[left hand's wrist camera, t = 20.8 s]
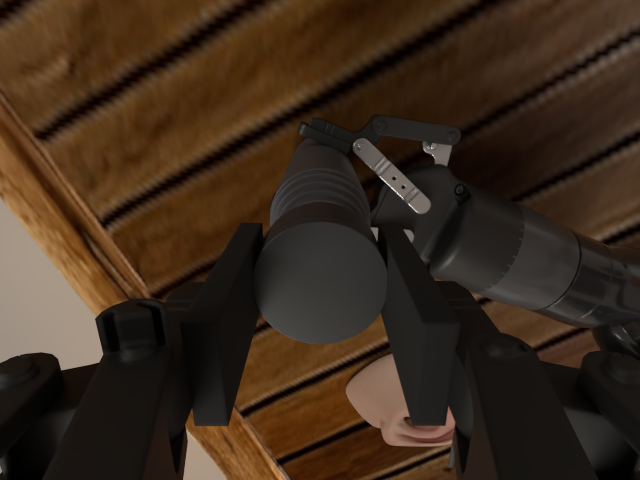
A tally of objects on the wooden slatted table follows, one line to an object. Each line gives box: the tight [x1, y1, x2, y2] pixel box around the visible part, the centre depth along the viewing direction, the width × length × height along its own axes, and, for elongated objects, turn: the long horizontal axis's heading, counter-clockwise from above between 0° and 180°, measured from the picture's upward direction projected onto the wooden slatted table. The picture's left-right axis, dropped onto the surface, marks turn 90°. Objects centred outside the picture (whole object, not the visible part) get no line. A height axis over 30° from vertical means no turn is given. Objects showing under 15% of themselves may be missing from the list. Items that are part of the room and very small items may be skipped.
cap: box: [253, 202, 387, 344], centre depth 13 cm, size 4×4×2 cm
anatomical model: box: [346, 354, 455, 446], centre depth 41 cm, size 13×4×12 cm
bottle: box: [270, 138, 371, 228], centre depth 23 cm, size 5×5×23 cm
